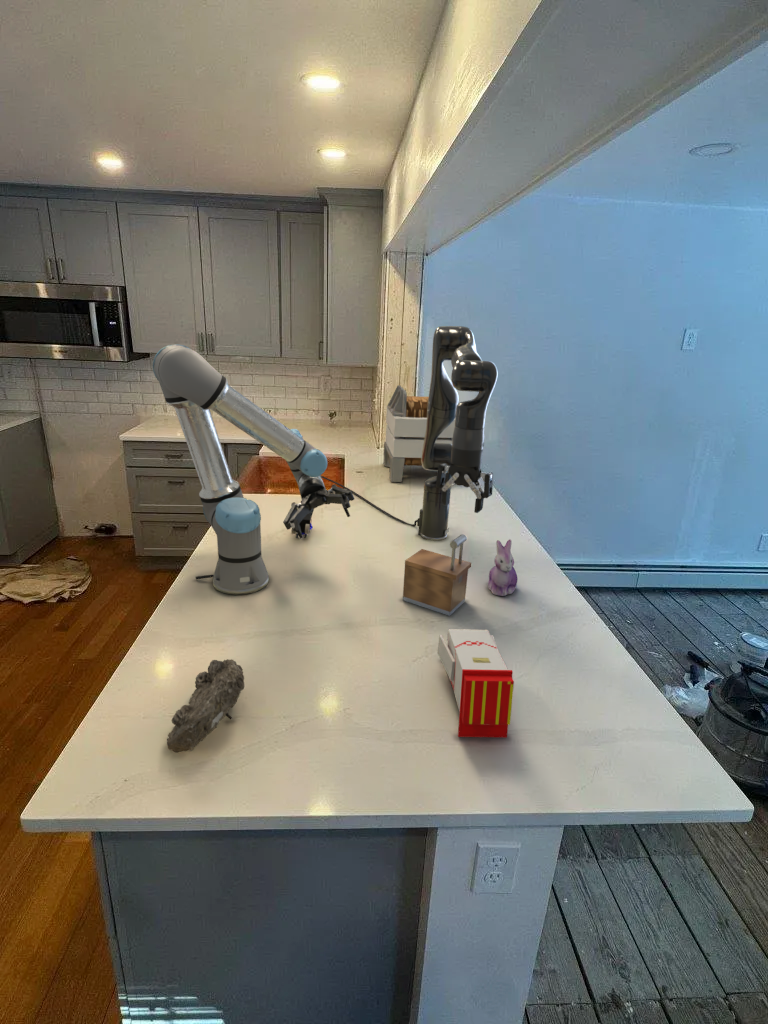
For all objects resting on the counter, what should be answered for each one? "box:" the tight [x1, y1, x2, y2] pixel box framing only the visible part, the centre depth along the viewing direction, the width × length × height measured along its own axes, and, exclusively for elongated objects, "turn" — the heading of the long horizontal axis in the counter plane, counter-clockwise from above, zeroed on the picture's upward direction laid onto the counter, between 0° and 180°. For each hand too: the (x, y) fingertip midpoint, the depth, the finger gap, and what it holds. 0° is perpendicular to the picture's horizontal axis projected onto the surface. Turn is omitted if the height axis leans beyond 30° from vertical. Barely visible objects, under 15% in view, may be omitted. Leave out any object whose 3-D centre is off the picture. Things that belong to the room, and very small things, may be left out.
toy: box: [437, 628, 515, 738], centre depth 117 cm, size 12×13×30 cm
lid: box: [404, 533, 472, 580], centre depth 150 cm, size 15×10×9 cm, turn 58°
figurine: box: [487, 538, 518, 597], centre depth 160 cm, size 9×10×15 cm
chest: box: [402, 564, 469, 617], centre depth 153 cm, size 14×10×11 cm
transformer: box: [383, 384, 460, 483], centre depth 268 cm, size 34×33×41 cm
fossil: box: [166, 658, 245, 754], centre depth 106 cm, size 22×10×15 cm
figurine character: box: [291, 508, 315, 539], centre depth 196 cm, size 7×8×15 cm
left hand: (323, 523), depth 147 cm, fingers open, 13 cm apart
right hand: (461, 508), depth 143 cm, fingers open, 8 cm apart
